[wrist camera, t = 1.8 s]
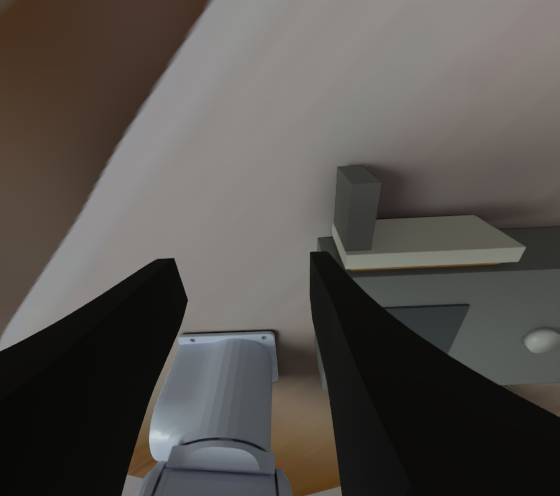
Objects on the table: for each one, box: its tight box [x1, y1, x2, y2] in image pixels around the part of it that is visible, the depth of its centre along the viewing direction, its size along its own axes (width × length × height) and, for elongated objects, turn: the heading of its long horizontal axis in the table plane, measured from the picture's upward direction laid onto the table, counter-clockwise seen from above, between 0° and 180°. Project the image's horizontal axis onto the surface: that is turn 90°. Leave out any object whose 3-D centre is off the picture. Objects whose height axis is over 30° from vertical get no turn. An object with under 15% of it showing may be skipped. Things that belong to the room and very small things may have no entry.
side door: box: [332, 165, 526, 269], centre depth 15 cm, size 10×5×4 cm, turn 93°
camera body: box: [315, 227, 560, 391], centre depth 20 cm, size 22×12×6 cm, turn 93°
